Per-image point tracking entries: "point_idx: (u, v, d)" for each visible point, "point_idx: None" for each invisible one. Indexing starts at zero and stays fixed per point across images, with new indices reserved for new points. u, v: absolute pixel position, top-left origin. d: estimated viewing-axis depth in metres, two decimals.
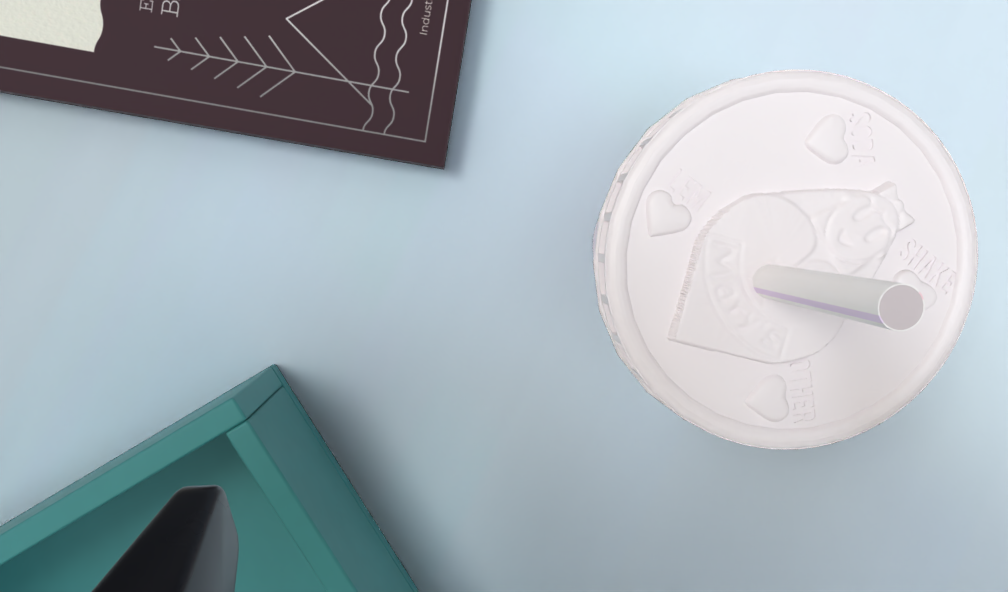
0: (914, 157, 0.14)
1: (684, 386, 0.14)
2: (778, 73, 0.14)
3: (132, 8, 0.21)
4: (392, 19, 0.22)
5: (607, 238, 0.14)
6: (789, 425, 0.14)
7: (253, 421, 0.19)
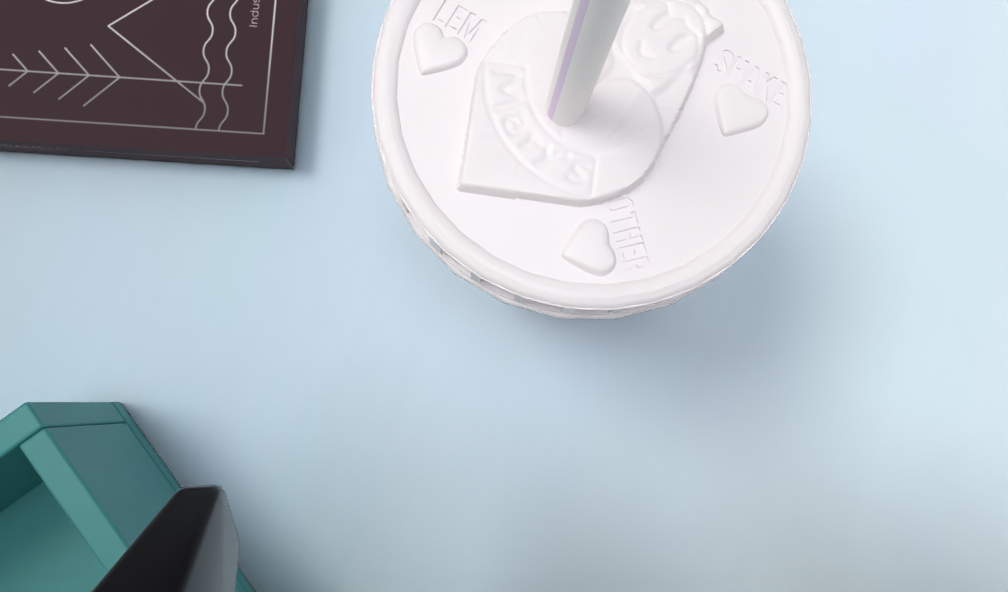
0: None
1: (484, 243, 0.12)
2: None
3: None
4: (219, 15, 0.21)
5: (372, 83, 0.12)
6: (619, 277, 0.12)
7: (55, 431, 0.17)
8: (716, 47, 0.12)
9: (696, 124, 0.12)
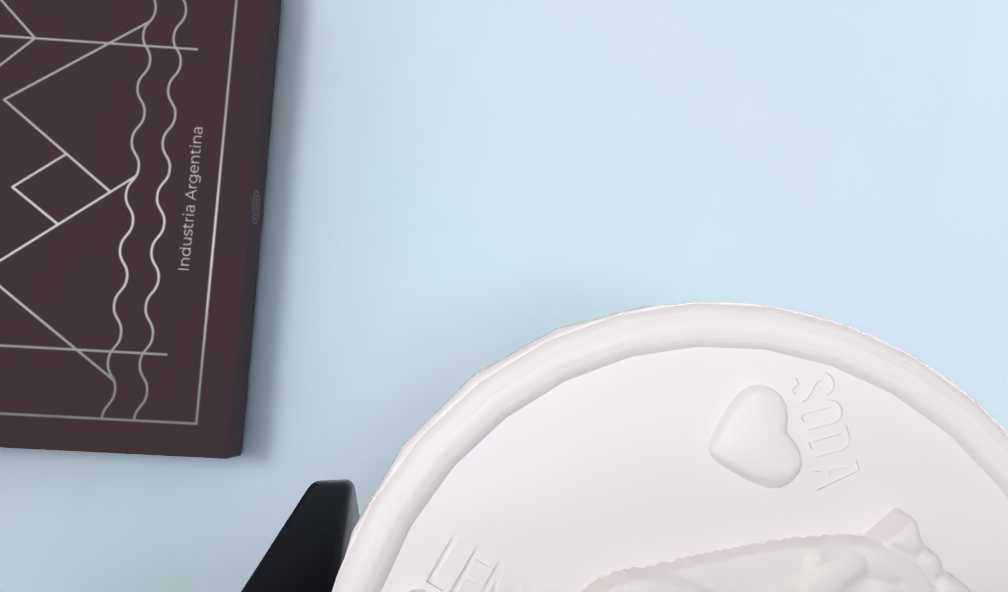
0: (940, 452, 0.07)
1: None
2: (629, 318, 0.07)
3: None
4: (137, 254, 0.15)
5: None
6: None
7: None
8: None
9: None
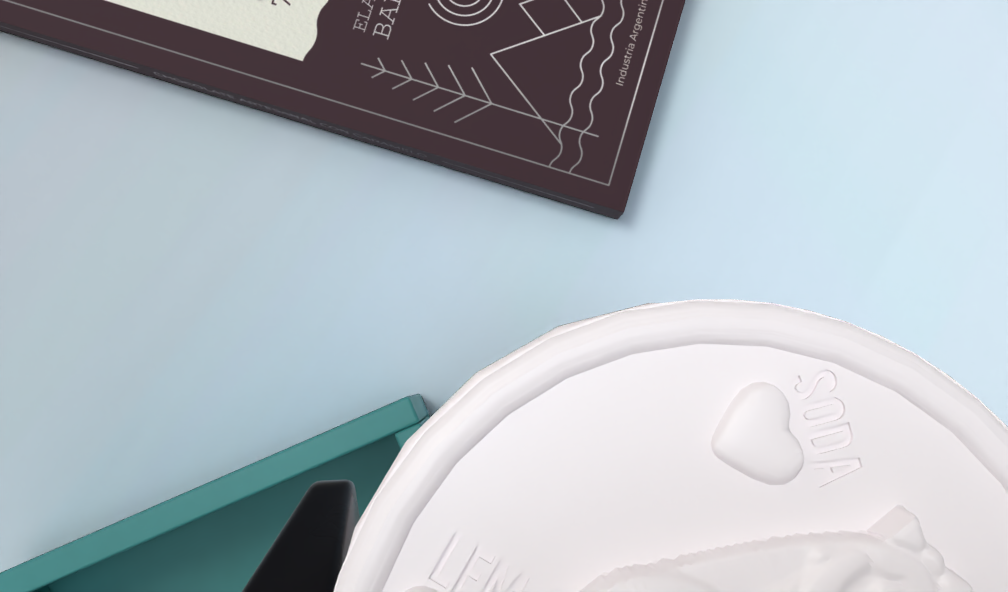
0: (942, 449, 0.07)
1: None
2: (631, 315, 0.07)
3: (346, 26, 0.22)
4: (591, 67, 0.23)
5: None
6: None
7: None
8: None
9: None
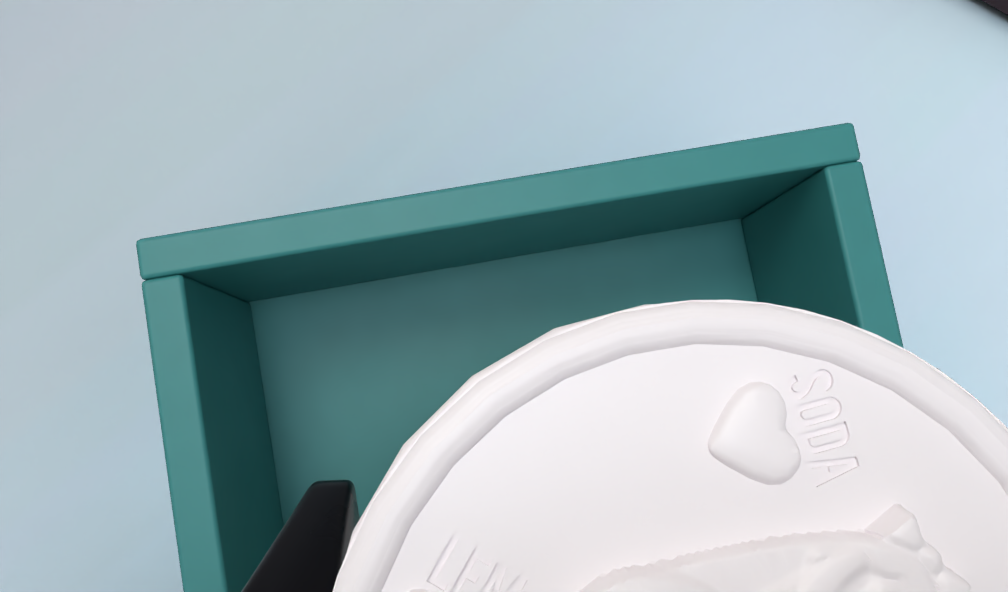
0: (939, 447, 0.07)
1: None
2: (627, 315, 0.07)
3: None
4: None
5: None
6: None
7: None
8: None
9: None
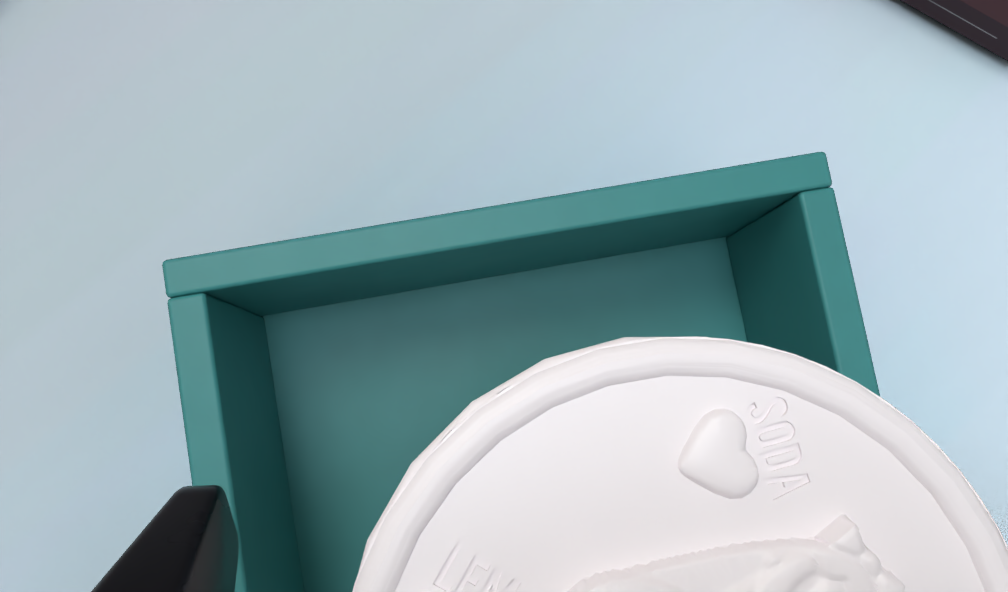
0: (880, 465, 0.08)
1: None
2: (607, 351, 0.08)
3: None
4: None
5: None
6: None
7: None
8: None
9: None
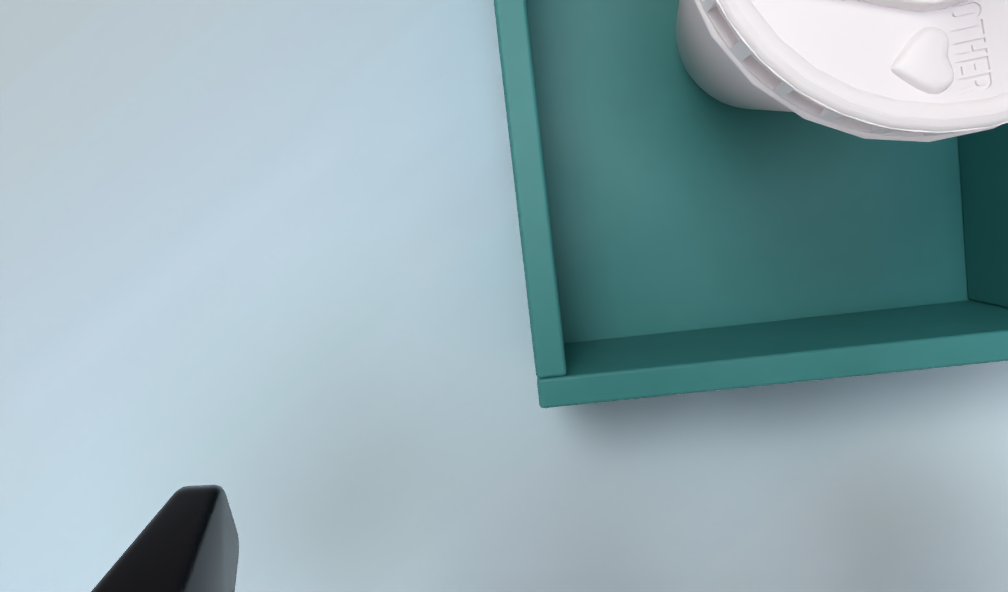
0: None
1: (804, 51, 0.11)
2: None
3: None
4: None
5: None
6: (955, 96, 0.11)
7: None
8: None
9: None
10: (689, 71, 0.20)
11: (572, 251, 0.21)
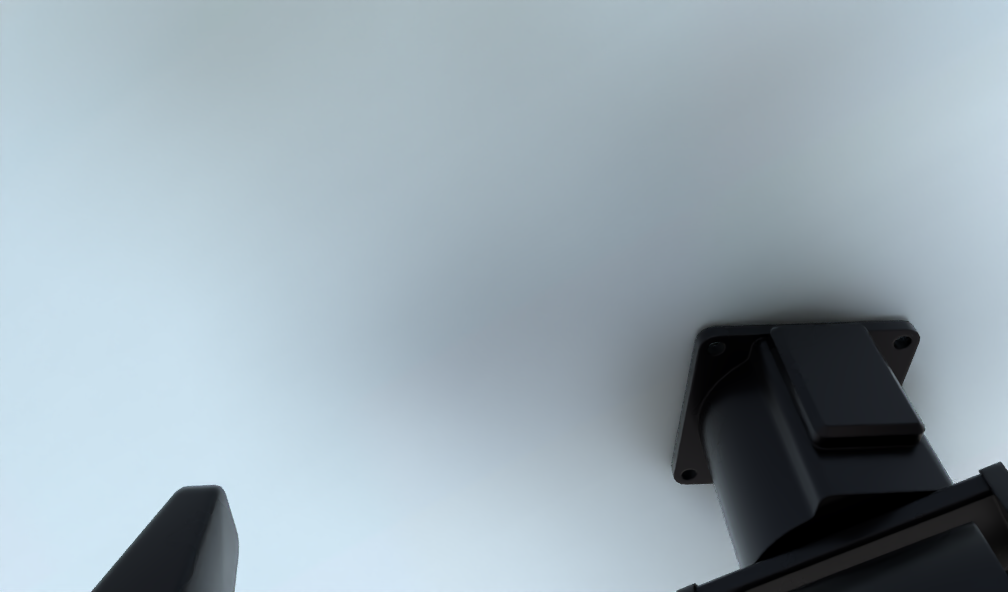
0: None
1: None
2: None
3: None
4: None
5: None
6: None
7: None
8: None
9: None
10: None
11: None
